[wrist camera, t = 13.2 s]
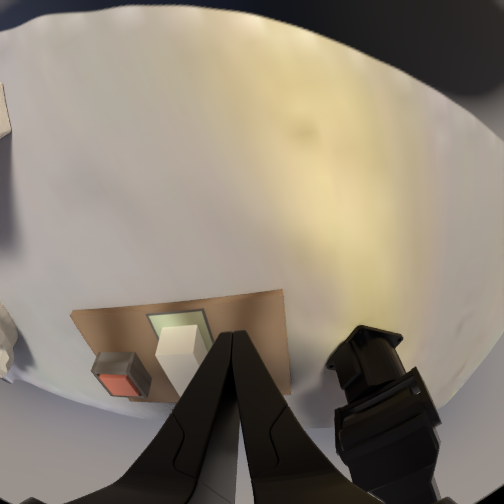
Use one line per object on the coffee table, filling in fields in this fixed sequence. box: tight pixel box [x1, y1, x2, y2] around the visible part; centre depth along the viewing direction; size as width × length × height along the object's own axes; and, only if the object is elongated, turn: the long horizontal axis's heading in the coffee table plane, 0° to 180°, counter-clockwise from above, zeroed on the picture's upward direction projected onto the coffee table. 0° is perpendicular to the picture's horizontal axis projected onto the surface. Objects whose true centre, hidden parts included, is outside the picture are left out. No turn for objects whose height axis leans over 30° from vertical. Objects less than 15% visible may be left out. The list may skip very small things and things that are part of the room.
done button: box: [99, 374, 140, 396], centre depth 26 cm, size 3×3×2 cm
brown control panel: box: [70, 289, 291, 403], centre depth 26 cm, size 20×15×3 cm
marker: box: [155, 325, 208, 397], centre depth 25 cm, size 11×3×3 cm, turn 8°
